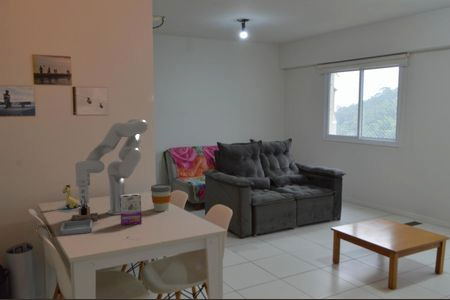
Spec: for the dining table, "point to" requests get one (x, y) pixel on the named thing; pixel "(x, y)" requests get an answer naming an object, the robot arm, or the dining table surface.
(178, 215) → the dining table surface
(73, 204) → the stuffed giraffe
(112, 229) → the dining table surface
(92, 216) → the brown piece
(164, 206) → the reusable coffee cup
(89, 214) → the tan rectangular block
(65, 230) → the tray
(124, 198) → the candy bar box
